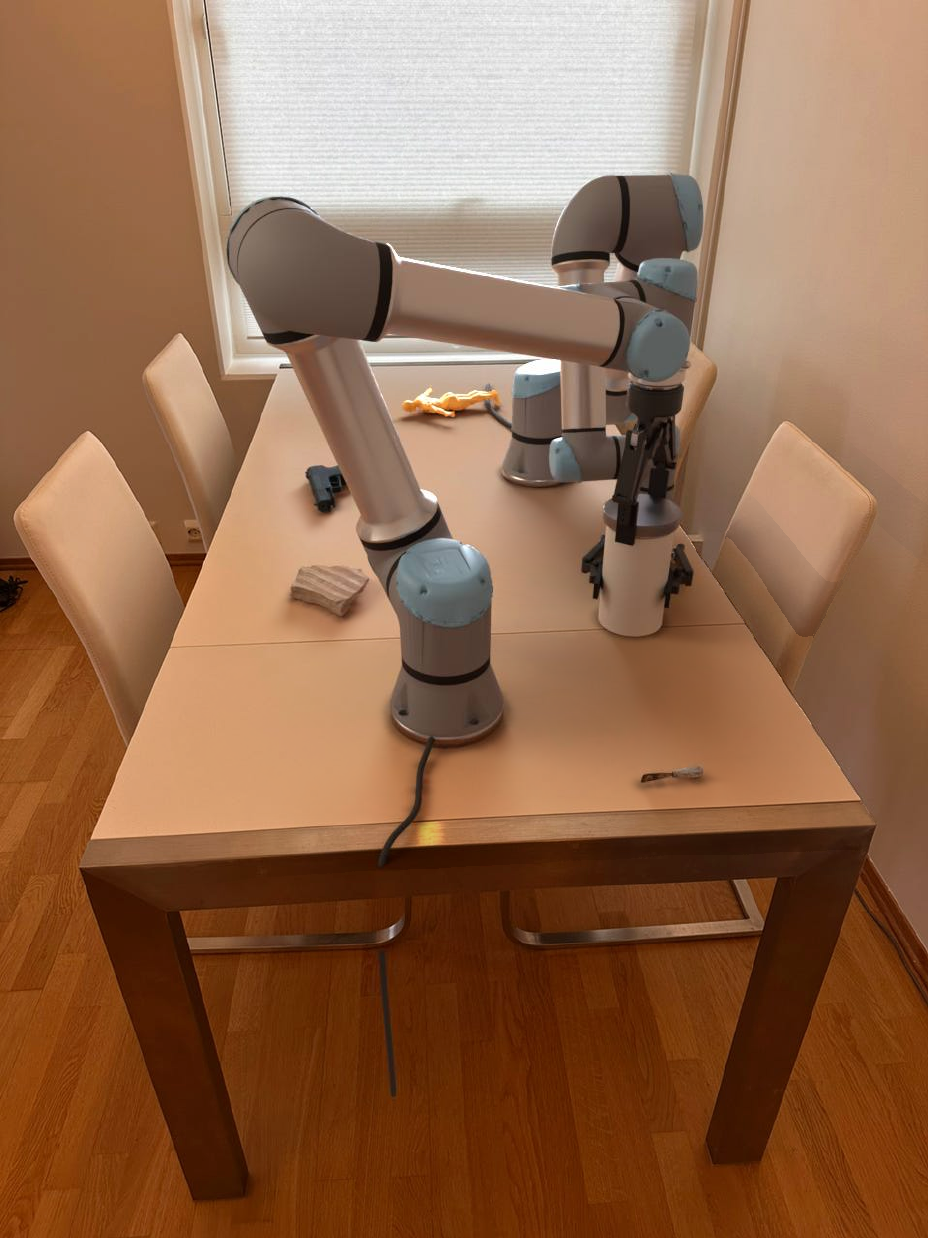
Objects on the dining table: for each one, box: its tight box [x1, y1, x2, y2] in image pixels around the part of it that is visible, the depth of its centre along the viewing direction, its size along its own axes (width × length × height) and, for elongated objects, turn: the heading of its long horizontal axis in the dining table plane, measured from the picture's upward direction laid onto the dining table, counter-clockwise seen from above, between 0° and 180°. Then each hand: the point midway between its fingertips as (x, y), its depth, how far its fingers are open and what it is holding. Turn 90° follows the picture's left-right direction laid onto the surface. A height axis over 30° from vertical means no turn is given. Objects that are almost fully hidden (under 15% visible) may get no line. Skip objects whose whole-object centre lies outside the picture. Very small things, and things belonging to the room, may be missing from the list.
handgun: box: [304, 464, 347, 513], centre depth 182 cm, size 3×18×12 cm
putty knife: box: [640, 765, 705, 784], centre depth 109 cm, size 1×8×2 cm, turn 103°
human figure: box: [402, 385, 500, 418], centre depth 225 cm, size 20×20×4 cm
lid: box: [602, 494, 682, 537], centre depth 131 cm, size 11×11×2 cm
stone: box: [289, 564, 370, 617], centre depth 147 cm, size 13×12×2 cm
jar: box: [597, 524, 675, 638], centre depth 136 cm, size 10×10×18 cm
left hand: (640, 525), depth 132 cm, fingers open, 12 cm apart
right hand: (631, 595), depth 134 cm, fingers closed on jar, 10 cm apart
